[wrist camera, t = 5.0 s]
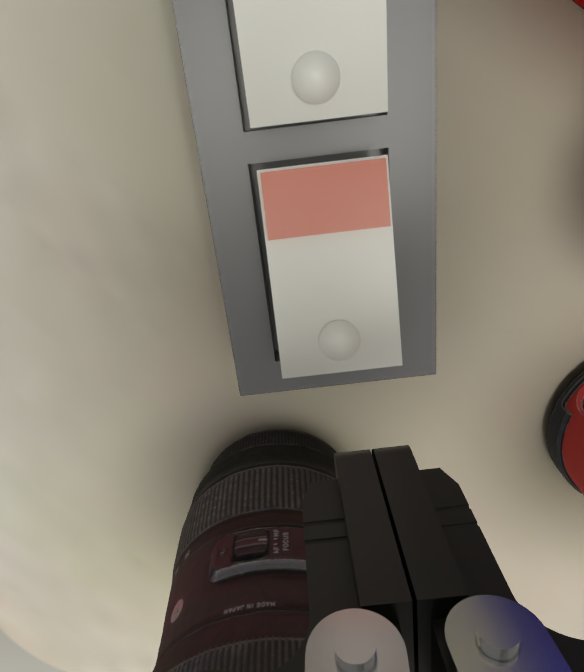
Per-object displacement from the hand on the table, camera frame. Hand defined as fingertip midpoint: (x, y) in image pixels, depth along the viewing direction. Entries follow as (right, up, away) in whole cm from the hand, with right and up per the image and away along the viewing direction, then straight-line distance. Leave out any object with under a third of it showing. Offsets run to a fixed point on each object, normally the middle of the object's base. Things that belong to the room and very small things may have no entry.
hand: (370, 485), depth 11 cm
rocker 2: (0, +5, +6) cm, 8 cm away
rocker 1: (-1, +12, +3) cm, 12 cm away
